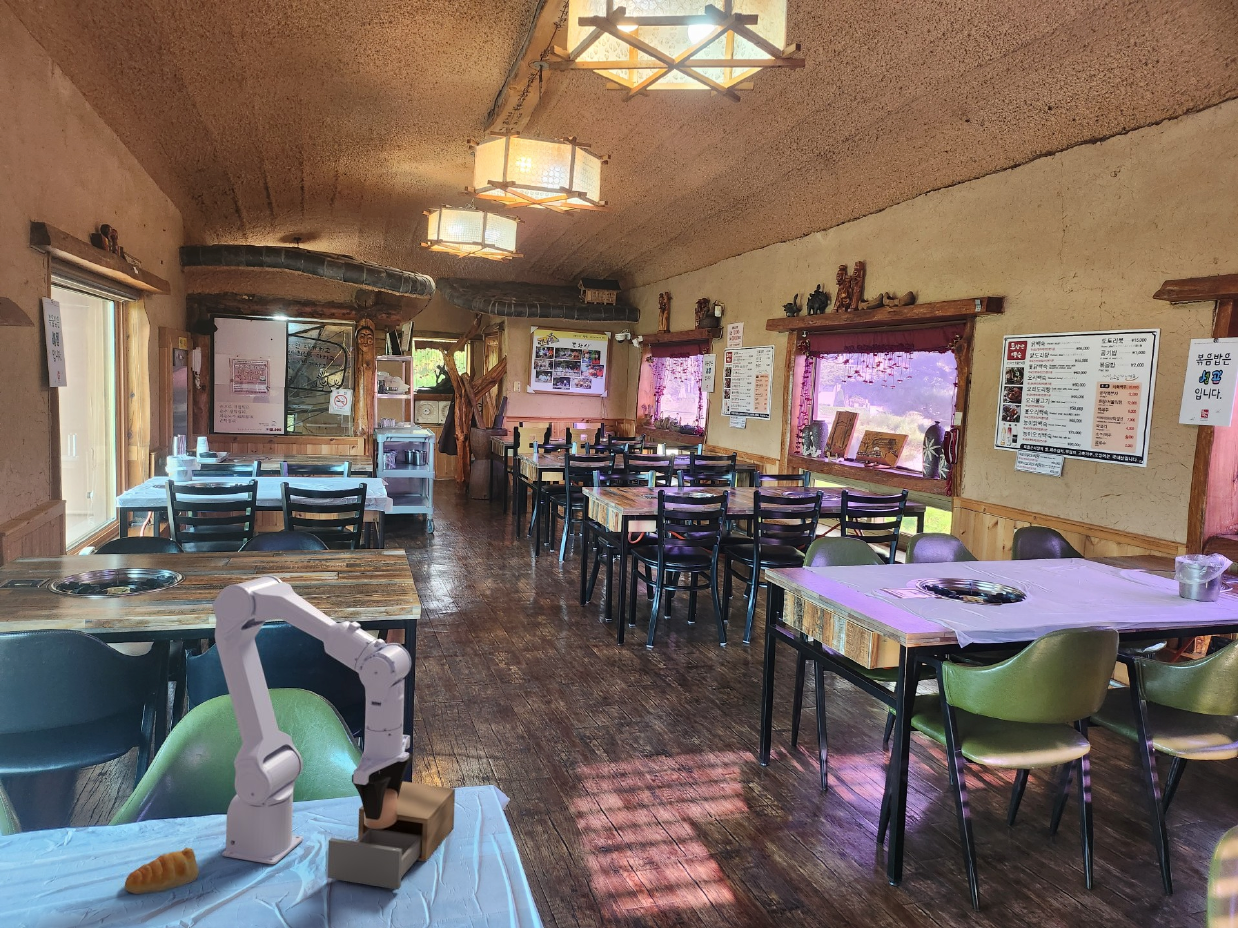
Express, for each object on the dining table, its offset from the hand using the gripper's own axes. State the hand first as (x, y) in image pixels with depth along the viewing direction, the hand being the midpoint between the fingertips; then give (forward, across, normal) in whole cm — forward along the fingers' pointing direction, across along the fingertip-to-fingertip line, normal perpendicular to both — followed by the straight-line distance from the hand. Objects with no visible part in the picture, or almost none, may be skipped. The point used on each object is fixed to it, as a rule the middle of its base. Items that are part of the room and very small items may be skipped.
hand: (381, 809), depth 124 cm
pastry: (+10, -11, +29) cm, 32 cm away
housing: (+9, +9, 0) cm, 13 cm away
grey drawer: (+9, 0, 0) cm, 9 cm away
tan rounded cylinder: (+2, 0, 0) cm, 2 cm away
